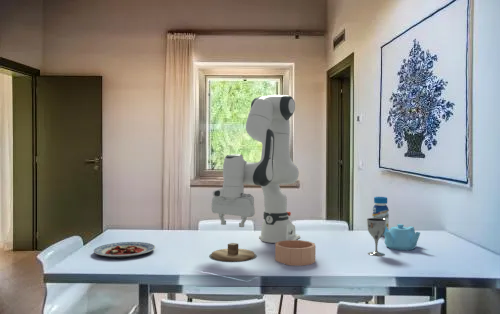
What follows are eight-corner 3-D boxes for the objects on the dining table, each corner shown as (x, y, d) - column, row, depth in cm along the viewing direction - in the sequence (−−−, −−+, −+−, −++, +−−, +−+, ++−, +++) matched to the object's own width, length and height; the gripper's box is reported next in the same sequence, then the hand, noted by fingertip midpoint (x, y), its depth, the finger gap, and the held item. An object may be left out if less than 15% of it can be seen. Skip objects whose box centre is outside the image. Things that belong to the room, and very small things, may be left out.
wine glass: (386, 252, 182) (386, 218, 182) (385, 257, 174) (386, 221, 174) (367, 251, 184) (367, 217, 184) (366, 255, 177) (366, 220, 177)
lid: (228, 248, 187) (228, 237, 187) (262, 254, 177) (262, 242, 177) (202, 257, 172) (202, 245, 172) (237, 263, 162) (237, 251, 162)
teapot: (421, 252, 183) (421, 227, 183) (385, 250, 186) (385, 226, 186) (415, 244, 198) (415, 222, 198) (382, 243, 201) (382, 221, 201)
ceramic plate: (149, 260, 169) (149, 253, 169) (85, 261, 167) (85, 254, 167) (159, 246, 195) (159, 239, 195) (103, 246, 193) (103, 240, 193)
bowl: (287, 253, 180) (287, 238, 180) (321, 258, 171) (321, 243, 171) (268, 261, 167) (268, 245, 167) (303, 267, 158) (303, 250, 158)
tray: (228, 249, 188) (228, 248, 188) (265, 255, 177) (265, 254, 177) (199, 258, 172) (199, 257, 172) (238, 265, 160) (238, 264, 160)
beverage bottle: (388, 233, 225) (388, 196, 225) (389, 236, 217) (389, 198, 216) (371, 232, 227) (371, 196, 227) (372, 235, 219) (372, 197, 218)
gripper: (257, 193, 171) (257, 227, 170) (218, 190, 182) (218, 222, 182) (249, 194, 165) (248, 229, 165) (209, 191, 177) (209, 224, 177)
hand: (232, 225), depth 174 cm, fingers open, 8 cm apart
